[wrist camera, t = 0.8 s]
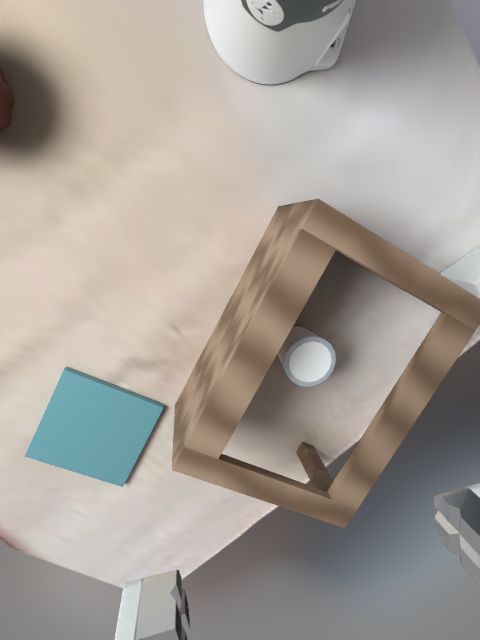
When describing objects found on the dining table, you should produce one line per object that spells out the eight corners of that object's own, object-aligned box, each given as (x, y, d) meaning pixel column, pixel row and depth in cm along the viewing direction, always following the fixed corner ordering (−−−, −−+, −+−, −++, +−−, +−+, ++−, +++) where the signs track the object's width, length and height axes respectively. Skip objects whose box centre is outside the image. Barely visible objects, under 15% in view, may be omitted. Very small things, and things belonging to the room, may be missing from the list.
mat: (66, 366, 47) (64, 369, 46) (163, 404, 50) (163, 407, 49) (27, 451, 49) (24, 456, 48) (123, 482, 52) (122, 486, 51)
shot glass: (303, 372, 52) (321, 394, 46) (263, 357, 51) (275, 377, 44) (324, 331, 51) (345, 347, 44) (283, 314, 49) (299, 328, 43)
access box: (278, 206, 45) (318, 198, 32) (411, 285, 51) (491, 306, 38) (175, 405, 50) (171, 469, 37) (306, 456, 56) (344, 527, 43)
